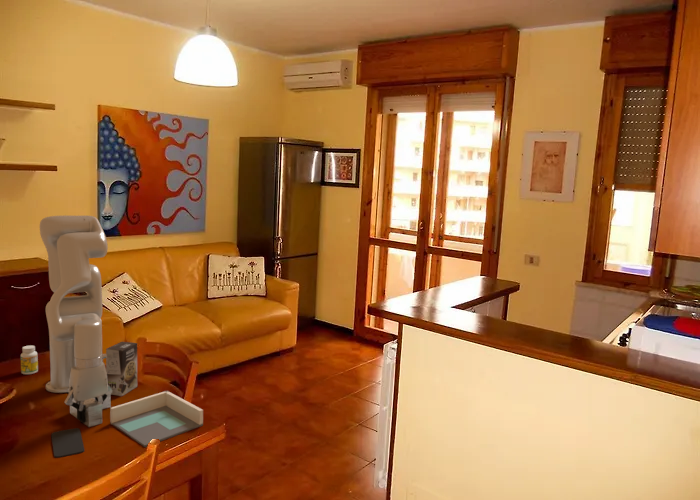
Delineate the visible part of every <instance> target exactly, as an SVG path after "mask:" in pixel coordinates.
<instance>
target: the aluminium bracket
mask: <svg viewBox="0 0 700 500" xmlns="http://www.w3.org/2000/svg"><path fill="white" fill-rule="evenodd" d="M111 397H112V396H111V394H109V395H108V396H107V398H106V399H105V400H104V402H103V404H101V403H100V402H98V401H97V400H95V397H94V398H91V399H87V400H85V401H84V407H83V409H84V410H85V423H83V424H84V425H85V426H87V427H88V428H90V427H94V426H97V425H100V424H103V410H105V409H108V408H109V409H110V408H111V407H112V405H111V404H112V403H111V400H112V399H111ZM72 401H73V402H75V403H76V401H75V400H74V398H73V400H72ZM69 414H70V415H72V416H73V417H75V418H76V419H77V409H76V408H74V407H73V406H69Z"/></svg>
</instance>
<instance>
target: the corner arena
mask: <svg viewBox="0 0 700 500" xmlns="http://www.w3.org/2000/svg"><path fill="white" fill-rule="evenodd" d="M109 411H110V412H109V419H110V420H109V421H110V425H112V426H113V427H114V428H116V429H117V430H119V431H121V432H122V433H124V434H125V435H126V436H128V437H129V438H131V439H132V440H134V441H135V442H136V443H138V444H140V445H141V446H142V447H144V448H147V447H148V446H147V445H148V443H149V442H150V441H151V440H152V439H159V440H160V442H162V441H165V440H167V439H170V438H173V437H176V436H178V435H182V434H185V433H187V432H189V431H191V430H194V429H197V428H199V427H202V426H203V425H204V409H202V408H201V407H199V406H196V405H195V404H193V403H191V402H189V401H187V400H185V399H183V398H182V397H180V396H178V395H176V394H174V393H172V392H170V391H169V390H164V391H162V392H159V393H158V392H157V393H154V394H152V395H148V396H145V397H141V398H139V399H135V400H132V401H129V402H125V403H122V404H118V405H116V406H111V407H109Z"/></svg>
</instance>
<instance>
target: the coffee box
mask: <svg viewBox="0 0 700 500" xmlns="http://www.w3.org/2000/svg"><path fill="white" fill-rule="evenodd" d="M105 351H106V352H105V354H106V355H107V357H106V358H105V361H106V362H105V368H106V373H107V380H108V385H109V387H110V388H111V389H112V390H113V391H112V393H111V395H112V396H118V397H123V396H125V395H126V394H128V393H129V392H131V391H132V390H134V389H136V388H138V343H136V342H130V341H129V342H128V341H119V342H117V343H116V344H114V345H112V346H109V347H107V348H106V349H105Z"/></svg>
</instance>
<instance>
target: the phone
mask: <svg viewBox="0 0 700 500" xmlns="http://www.w3.org/2000/svg"><path fill="white" fill-rule="evenodd" d="M50 435H51V444H52V452H53V457H54V458H56V459H58V458H59V459H60V458H64V457H68V456H73V455H79V454H82V453H84V452H85V446H84V442H83V437H82V433H81V429H80V428H78V427H74V428H68V429H64V430H58V431H54V432H51V434H50Z"/></svg>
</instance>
